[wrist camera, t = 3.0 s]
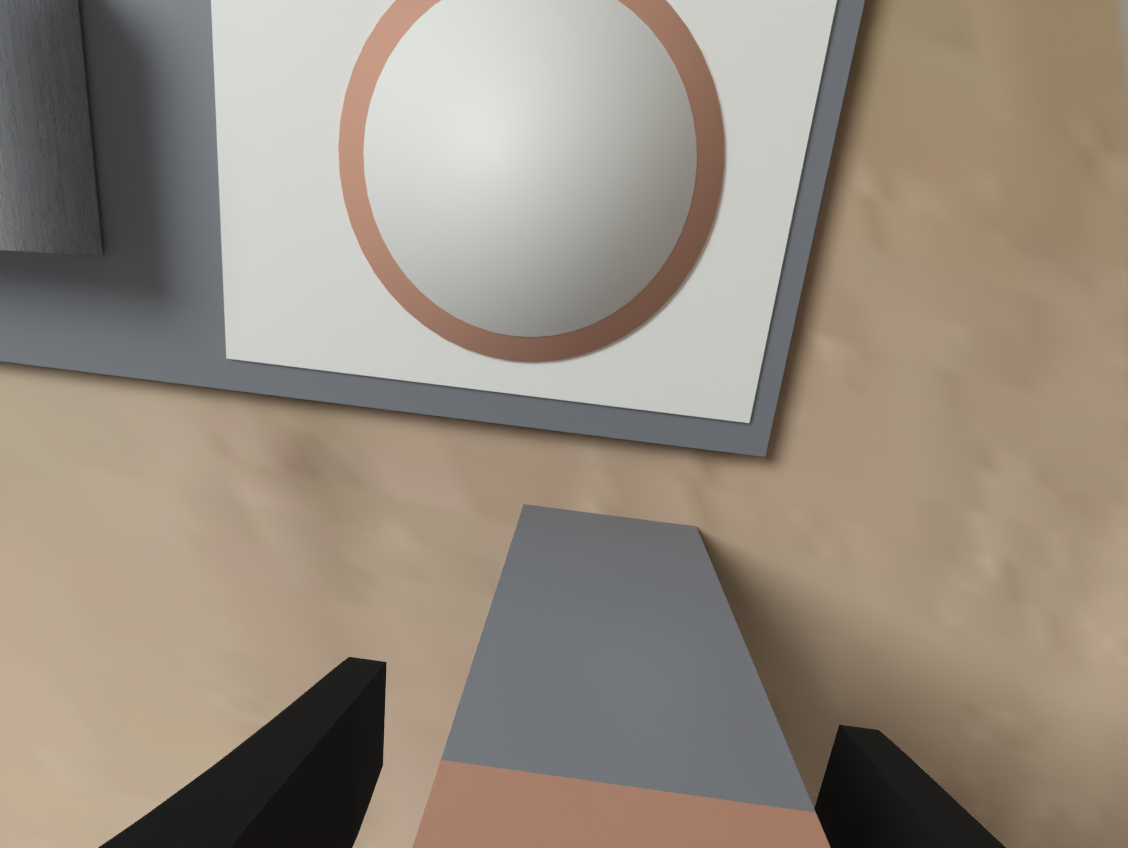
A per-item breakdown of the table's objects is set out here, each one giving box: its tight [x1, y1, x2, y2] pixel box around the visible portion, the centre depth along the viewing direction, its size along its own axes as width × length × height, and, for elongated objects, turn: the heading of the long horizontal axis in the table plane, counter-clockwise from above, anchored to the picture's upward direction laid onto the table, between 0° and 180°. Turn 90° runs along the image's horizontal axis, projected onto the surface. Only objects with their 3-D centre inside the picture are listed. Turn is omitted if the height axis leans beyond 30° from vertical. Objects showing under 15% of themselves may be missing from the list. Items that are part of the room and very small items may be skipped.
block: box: [413, 505, 830, 848], centre depth 9 cm, size 4×4×8 cm
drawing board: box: [0, 0, 865, 457], centre depth 11 cm, size 10×19×1 cm, turn 83°
